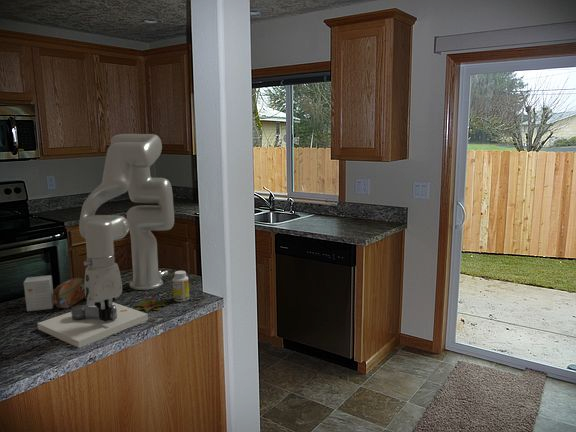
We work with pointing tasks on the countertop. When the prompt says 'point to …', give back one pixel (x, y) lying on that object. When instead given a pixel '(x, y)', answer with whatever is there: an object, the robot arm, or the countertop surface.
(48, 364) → the countertop surface
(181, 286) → the supplement bottle
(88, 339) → the base
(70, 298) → the tin
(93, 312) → the grey knobbed bar
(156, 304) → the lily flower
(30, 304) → the small box
